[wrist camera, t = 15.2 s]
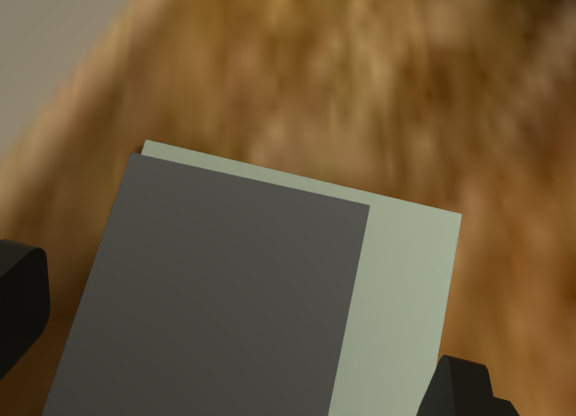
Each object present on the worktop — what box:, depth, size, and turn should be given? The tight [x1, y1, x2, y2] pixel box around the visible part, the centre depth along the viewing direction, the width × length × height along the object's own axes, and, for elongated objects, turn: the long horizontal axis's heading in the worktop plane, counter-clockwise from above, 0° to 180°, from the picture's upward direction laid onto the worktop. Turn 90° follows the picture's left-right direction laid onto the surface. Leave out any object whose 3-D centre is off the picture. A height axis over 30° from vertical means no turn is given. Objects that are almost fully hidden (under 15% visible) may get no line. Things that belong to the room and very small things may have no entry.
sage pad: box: [141, 140, 462, 416], centre depth 18 cm, size 12×12×1 cm
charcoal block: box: [41, 152, 370, 416], centre depth 13 cm, size 5×6×9 cm
